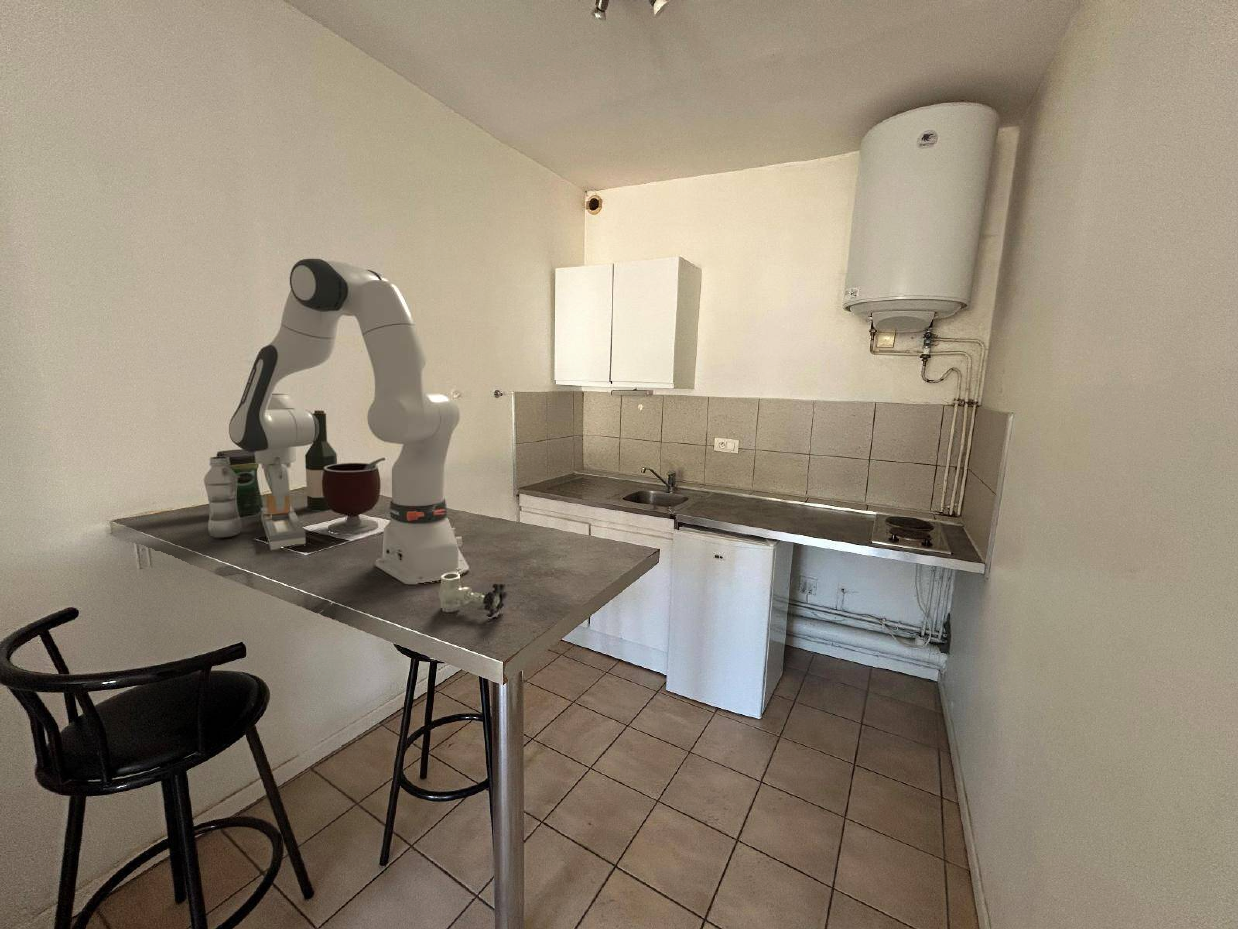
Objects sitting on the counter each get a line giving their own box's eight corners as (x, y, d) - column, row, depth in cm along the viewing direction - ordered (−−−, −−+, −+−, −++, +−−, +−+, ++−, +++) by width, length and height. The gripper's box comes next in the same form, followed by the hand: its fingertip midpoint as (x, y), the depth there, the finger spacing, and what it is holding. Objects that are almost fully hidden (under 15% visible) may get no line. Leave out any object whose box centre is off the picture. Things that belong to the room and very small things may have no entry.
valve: (430, 615, 90) (489, 626, 87) (429, 581, 89) (489, 591, 86) (450, 600, 96) (506, 610, 93) (450, 568, 95) (507, 577, 92)
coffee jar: (256, 507, 148) (252, 446, 144) (266, 512, 143) (262, 450, 140) (216, 513, 140) (211, 449, 137) (226, 519, 135) (220, 452, 132)
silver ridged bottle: (249, 533, 125) (243, 456, 122) (225, 541, 119) (219, 460, 115) (225, 531, 126) (220, 454, 123) (201, 539, 119) (194, 458, 116)
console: (305, 545, 120) (305, 531, 119) (270, 550, 115) (269, 535, 115) (291, 516, 141) (290, 504, 140) (261, 520, 136) (260, 507, 136)
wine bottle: (336, 503, 158) (332, 409, 153) (341, 509, 151) (337, 412, 146) (305, 506, 152) (300, 409, 147) (309, 512, 146) (305, 411, 141)
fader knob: (290, 518, 132) (289, 494, 131) (269, 521, 129) (267, 496, 128) (289, 515, 135) (288, 492, 134) (268, 518, 132) (266, 494, 131)
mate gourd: (314, 535, 127) (310, 459, 123) (337, 520, 140) (334, 451, 137) (377, 536, 129) (375, 461, 126) (394, 521, 142) (393, 453, 139)
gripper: (295, 460, 123) (297, 513, 126) (285, 449, 139) (288, 496, 141) (264, 462, 119) (267, 516, 122) (258, 450, 135) (261, 498, 137)
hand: (278, 505), depth 132 cm, fingers open, 7 cm apart
